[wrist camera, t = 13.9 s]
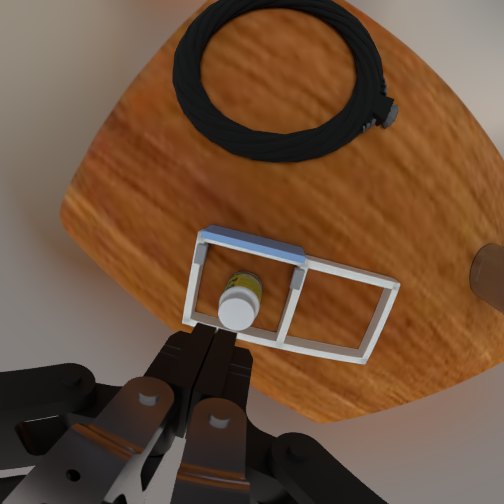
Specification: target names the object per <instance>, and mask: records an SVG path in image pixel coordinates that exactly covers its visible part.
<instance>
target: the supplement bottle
mask: <svg viewBox="0 0 504 504" xmlns="http://www.w3.org/2000/svg"><path fill="white" fill-rule="evenodd" d="M261 295H262V284H261V281H260V280H259V278H258V277H257V276H256V275H254V274H252V273H250V272H238V273H236V274H234V275H233V276H232V277H231V278H230V280H229V281H228V283H227V285H226V287H225V289H224V291H223V293H222V295H221V297H220V301H219V310H218V316H219V319H220V321H221V323H222V324H223V325H224V326H225V327H227V328H229V329H231V330H236V331H239V330H244V329H246V328H248V327H249V326H250V325H251V324H252V323H253V321H254V318H255V317H256V316H257V314H258V312H259V308H260V301H261Z"/></svg>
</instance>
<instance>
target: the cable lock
mask: <svg viewBox="0 0 504 504" xmlns="http://www.w3.org/2000/svg"><path fill="white" fill-rule="evenodd" d="M270 6H274V7H288V8H294V9H299V10H302V11H305V12H308V13H311V14H313V15H315V16H317V17H319V18H321V19H323V20H325V21H327V22H328V23H330V24H331V25H332V26H333V27H334V28H335V29H336V30H337V31H338V32H339V33H340V34H341V35H342V36H343V37H344V39H345V40H346V41H347V43H348V44H349V46H350V47H351V50H352V52H353V54H354V58H355V63H356V68H357V73H358V77H357V81H356V84H355V87H354V91H353V94H352V97H351V98H350V100H349V102H348V103H347V105H346V107H345V108H344V109H343V110H342V111H341V112H340V113H338V114H337V115H336V116H334V117H333V118H332V119H331V120H329V121H328V122H326V123H325V124H323V125H322V126H320V127H317V128H314V129H309V130H304V131H299V132H294V133H290V134H278V133H270V132H262V131H253V130H251V129H249V128H247V127H244V126H242V125H240V124H238V123H236V122H234V121H232V120H230V119H229V118H227V117H225V116H224V115H223V114H222V113H221V112H220V111H219V110H218V109H217V108H216V107H215V106H214V105H213V104H212V103H211V102H210V100H209V98H208V96H207V94H206V92H205V90H204V88H203V86H202V84H201V82H200V59H201V55H202V52H203V50H204V47H205V45H206V43H207V41H208V39H209V38H210V37H211V36H212V34H213V33H214V32H215V31H216V30H217V29H218V28H219V27H220V26H221V25H222V24H224V23H225V22H227V21H228V20H229V19H231V18H233V17H235V16H237V15H239V14H240V13H242V12H245V11H249V10H254V9H258V8H263V7H270ZM173 85H174V88H175V91H176V95H177V100H178V102H179V104H180V106H181V108H182V110H183V113H184V114H185V115H186V116H187V117H188V118H189V120H190V121H191V122H192V124H193V125H194V126H195V128H196V129H197V130H198V131H199V132H201V133H202V134H203V135H204V136H206V137H207V138H208V139H209V140H210V141H212V142H214V143H216V144H218V145H220V146H221V147H223V148H224V149H226V150H227V151H229V152H231V153H233V154H237V155H240V156H244V157H248V158H251V159H253V160H261V161H269V162H287V161H290V162H299V161H303V160H308V159H312V158H317V157H321V156H323V155H326V154H328V153H331V152H333V151H336V150H338V149H339V148H340V147H342V146H344V145H345V144H347V143H349V142H350V141H352V140H353V139H354V138H355V137H356V136H357V135H359V134H360V133H364V131H365V130H366V129H368V128H369V127H372V126H373V125H374V124H375V125H376V126H378V125H380V124H383V127H384V128H387V127H389V126H390V125H391V124H392V123H393V122H394V121H395V119H396V116H397V114H398V105H392V104H393V102H394V99H392V98H390V97H387V88H385V87H386V82H385V78H383V69H382V62H381V57H380V55H379V53H378V51H377V48H376V46H375V44H374V42H373V40H372V39H371V37H370V35H369V33H368V31H367V30H366V28H365V27H364V26H363V25H362V24H361V22H360V21H359V20H358V19H357V18H356V17H355V16H353V15H352V14H351V13H350V12H348V11H347V10H346V9H344V8H343V7H341V6H340V5H338V4H336V3H335V2H333V1H332V0H219V1H217V2H215V3H213V4H211V5H210V6H208V7H207V8H206V9H205V10H204V11H203V12H202V13H201V14H200V15H199V16H198V17H197V18H196V19H195V20H194V21H193V22H192V23H191V25H190V26H189V27H188V29H187V31H186V32H185V34H184V36H183V37H182V39H181V40H180V42H179V44H178V47H177V49H176V51H175V54H174V66H173Z"/></svg>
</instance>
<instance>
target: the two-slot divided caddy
mask: <svg viewBox="0 0 504 504" xmlns="http://www.w3.org/2000/svg"><path fill="white" fill-rule="evenodd" d="M208 242H209V243H213V244H216V245H220V246H224V247H228V248H232V249H236V250H240V251H244V252H248V253H252V254H255V255H259V256H263V257H267V258H271V259H275V260H279V261H283V262H287V263H291V264H294V265H297V268H296V267H295V268H294V272H293V275H292V278H291V282H290V285H289V286H290V291H289V294H288V298H287V301H286V304H285V307H284V310H283V314H282V317H281V320H280V323H279V326H278V329H277V332H271V331H267V330H263V329H259V328H255V327H251V326H249V327H248V328H246V329H244V330H239V331H236V330H231V329H229V328H227V327H225V326H224V325H223V324H222V323H221V321H220V319H219V318H217V317H213V316H209V315H206V314H202V313H199V312H195V308H196V302H197V297H198V291H199V286H200V281H201V276H202V270H203V265H204V264H205V260H206V256H207V251H208V246H209V245H208ZM308 268H310V269H314V270H318V271H322V272H326V273H330V274H334V275H337V276H341V277H345V278H349V279H353V280H357V281H361V282H365V283H369V284H373V285H377V286H381V287H384V289H383V292H382V295H381V297H380V300H379V302H378V305H377V307H376V310H375V312H374V315H373V317H372V319H371V322H370V324H369V326H368V329H367V331H366V333H365V336H364V338H363V340H362V342H361V344H360V346H359V349H354V348H348V347H343V346H337V345H332V344H327V343H322V342H317V341H312V340H307V339H302V338H298V337H293V336H289V335H286V334H287V331H288V328H289V325H290V322H291V319H292V316H293V313H294V310H295V307H296V304H297V301H298V298H299V295H300V292H301V289H302V286H303V283H304V279H305V276H306V273H307V270H308ZM400 285H401V284H400V283H399V282H398V281H397V280H396V279H394V278H392V277H388V276H384V275H381V274H377V273H373V272H369V271H366V270H362V269H358V268H355V267H351V266H347V265H343V264H339V263H336V262H332V261H328V260H324V259H321V258H317V257H313V256H309V255H305V252H304V250H303V247H299V246H295V245H291V244H287V243H283V242H280V241H276V240H272V239H268V238H264V237H260V236H256V235H252V234H248V233H244V232H241V231H237V230H233V229H229V228H225V227H221V226H217V225H210V226H209V227H207V228H205V229H202V230H200V231H199V232H198V236H197V241H196V246H195V251H194V257H193V262H192V267H191V273H190V279H189V284H188V290H187V296H186V302H185V308H184V315H183V321H182V323H184V324H187V325H190V326H194V327H195V326H196V324H197V322H199V323H203V324H206V325H210V326H213V327H217V330H218V328H221V329H225V330H228V331H232V332H236V333H238V334H237V339H241V340H245V341H249V342H253V343H257V344H261V345H265V346H270V347H274V348H278V349H283V350H288V351H292V352H297V353H302V354H307V355H312V356H317V357H323V358H328V359H334V360H340V361H346V362H352V363H358V364H366V362H367V360H368V358H369V356H370V354H371V352H372V350H373V348H374V346H375V344H376V342H377V340H378V337H379V335H380V333H381V331H382V329H383V326H384V324H385V322H386V319H387V317H388V315H389V312H390V310H391V308H392V305H393V303H394V300H395V298H396V295H397V293H398V290H399V287H400Z"/></svg>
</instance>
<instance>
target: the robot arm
mask: <svg viewBox="0 0 504 504" xmlns="http://www.w3.org/2000/svg"><path fill="white" fill-rule="evenodd" d="M470 284H471V288H472V291H473V292H474V293H475V294H476V295H477V296H478V297H480V298H481V299H483V300H484V301H486V302H487V303H488V304H490V305H491V306H493V307H494V308H496V309H497V310H498V311H500V312H501V313H503V314H504V247H502V246H499V245H496V244H488V245H486V246H484V247H483V248H482V249H481V250H480V251H479V253H478V254H477V256H476V257H475V259H474V262H473V264H472V268H471V273H470ZM237 334H238V333H236V332H232V331H228V330H225V329H221V328H218V330H217V327H213V326H210V325H206V324H203V323H199V322H197V324H196V326H195V327H194V329H193V331H192V333H191V334H190V333H187V332H183V331H179V332H177V333H175V334H173V335H171V336H170V337H169V338H168V340H167V341H166V343H165V345H164V346H163V347H162V349H161V350H160V352H159V353H158V355H157V356H156V358H155V359H154V361H153V362H152V364H151V365H150V367H149V368H148V370H147V371H146V373H145V374H144V376H142V377H136V378H133V379H131V380H129V381H128V382H127V383H126V384H125V385H124V386H111V385H105V384H100V383H96V382H95V377H94V375H93V374H92V372H91V371H90V370H89V369H88V368H86V367H84V366H82V365H79V364H75V363H64V364H59V365H52V366H46V367H39V368H32V369H24V370H16V371H7V372H0V470H5V469H14V468H22V467H28V466H34V465H35V467H34V468H33V469H32V470H31V471H30V472H29V473H28V474H27V475H18V476H12V477H5V478H0V504H144V503H145V499H146V497H147V494H148V492H149V490H150V488H151V487H152V485H153V483H154V481H155V479H156V477H157V475H158V473H159V471H160V469H161V468H162V466H163V464H164V462H165V460H166V458H167V456H168V454H169V449H170V447H171V445H172V443H173V440H174V438H175V436H178V437H180V438H183V437H184V434H185V432H186V437H185V439H186V443H185V447H184V451H183V455H182V460H181V464H180V467H179V469H178V472H177V476H176V480H175V484H174V488H173V493H172V497H171V502H170V504H388V503H387V502H385V501H384V500H383V499H382V498H380V497H379V496H378V495H377V494H375V493H374V492H373V491H372V490H371V489H370V488H368V487H367V486H366V485H365V484H364V483H362V482H361V481H360V480H359V479H358V478H357V477H355V476H354V475H353V474H352V473H351V472H350V471H349V470H347V469H346V468H345V467H344V466H343V465H342V464H341V463H340V462H339V461H338V460H336V459H335V458H334V457H333V456H332V455H331V454H330V453H329V452H328V451H327V450H326V449H324V448H323V446H322V445H320V444H319V443H318V442H317V441H316V440H315V439H313V438H312V437H310V436H308V435H305V434H302V433H296V432H290V433H285V434H282V435H280V436H278V437H274V436H272V435H270V434H267V433H265V432H263V431H261V430H259V429H258V428H256V427H255V426H254V425H253V424H252V423H251V422H250V420H249V419H248V417H247V414H246V404H247V397H248V390H249V384H250V377H251V371H252V364H253V358H252V356H251V353H250V351H249V349H245V348H241V347H237V346H234V345H235V342H236V338H237ZM57 415H58V416H57ZM52 416H57V417H52ZM47 417H52V418H47ZM42 418H46V419H42ZM36 419H41V420H36ZM30 420H35V421H30ZM24 421H29V422H24ZM186 429H187V430H186Z"/></svg>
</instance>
